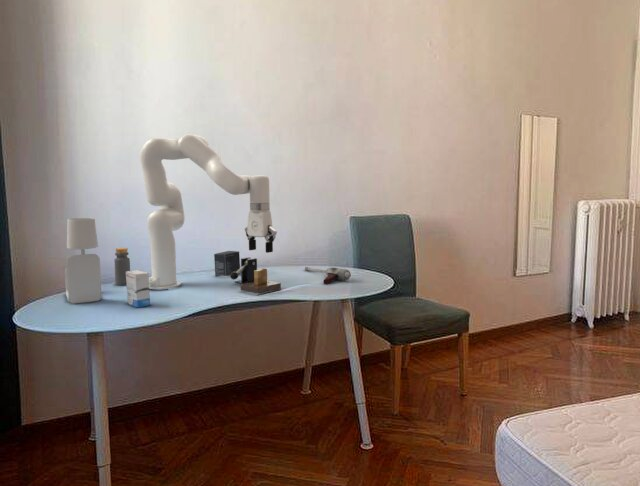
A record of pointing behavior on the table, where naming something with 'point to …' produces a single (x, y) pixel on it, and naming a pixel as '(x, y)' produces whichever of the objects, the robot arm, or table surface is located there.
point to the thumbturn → (260, 276)
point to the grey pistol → (333, 274)
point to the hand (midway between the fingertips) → (260, 251)
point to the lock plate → (261, 287)
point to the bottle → (121, 266)
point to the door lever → (235, 274)
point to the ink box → (138, 288)
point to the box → (226, 263)
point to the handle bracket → (248, 270)
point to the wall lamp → (82, 262)
